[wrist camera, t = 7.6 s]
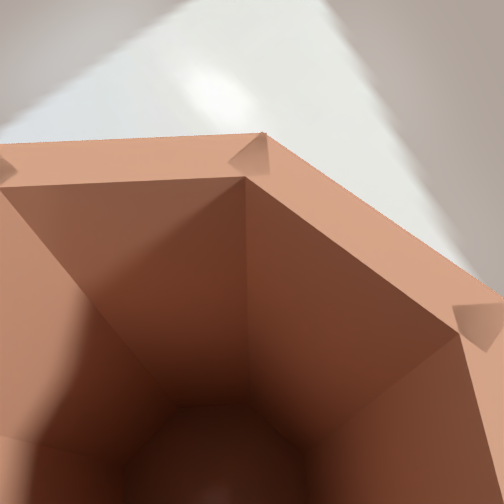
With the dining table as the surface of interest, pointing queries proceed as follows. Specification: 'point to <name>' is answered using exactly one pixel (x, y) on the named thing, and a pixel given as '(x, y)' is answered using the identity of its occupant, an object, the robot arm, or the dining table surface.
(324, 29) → the dining table surface
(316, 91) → the dining table surface
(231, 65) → the dining table surface
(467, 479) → the cup
